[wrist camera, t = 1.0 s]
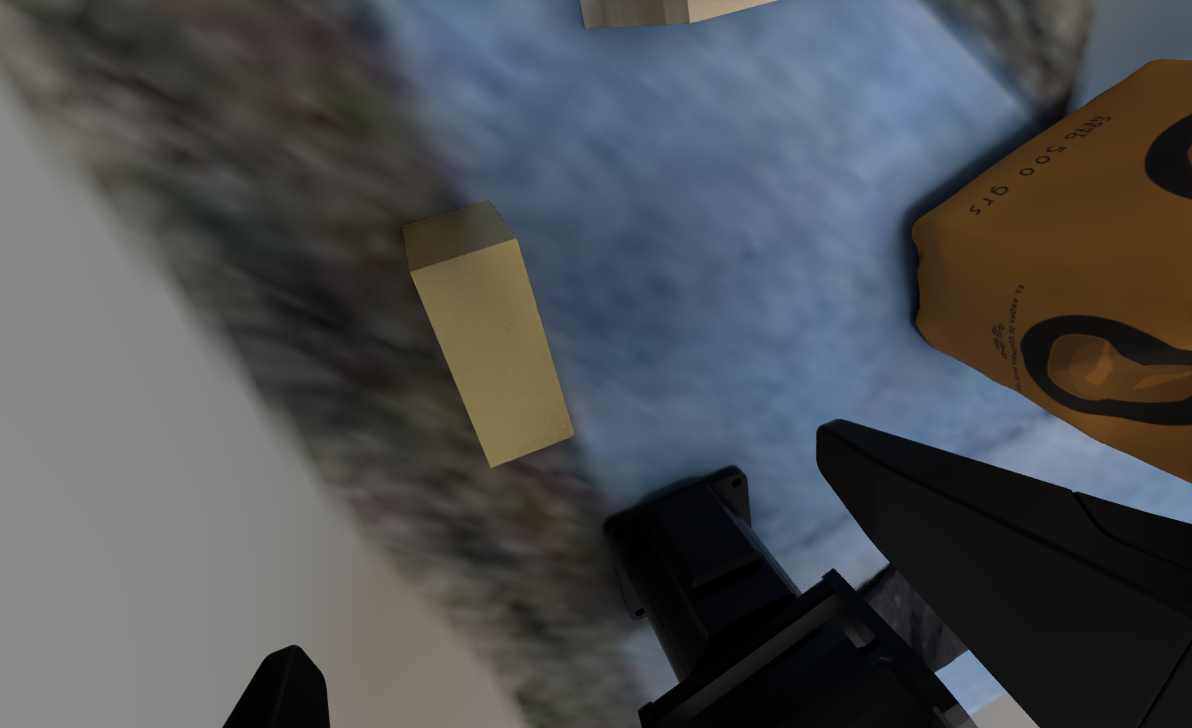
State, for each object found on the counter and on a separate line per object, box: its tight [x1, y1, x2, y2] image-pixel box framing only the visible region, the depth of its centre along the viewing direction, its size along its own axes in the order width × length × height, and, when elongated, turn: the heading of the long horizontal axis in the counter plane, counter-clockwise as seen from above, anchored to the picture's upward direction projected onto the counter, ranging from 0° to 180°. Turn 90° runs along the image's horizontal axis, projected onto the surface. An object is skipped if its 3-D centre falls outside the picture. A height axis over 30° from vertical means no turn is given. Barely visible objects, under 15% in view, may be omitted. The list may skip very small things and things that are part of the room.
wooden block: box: [402, 200, 575, 468], centre depth 16 cm, size 6×2×4 cm, turn 12°
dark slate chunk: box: [860, 565, 969, 673], centre depth 36 cm, size 15×22×5 cm
